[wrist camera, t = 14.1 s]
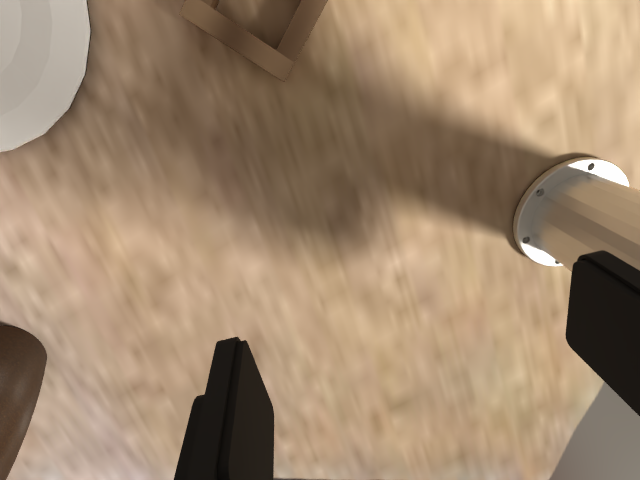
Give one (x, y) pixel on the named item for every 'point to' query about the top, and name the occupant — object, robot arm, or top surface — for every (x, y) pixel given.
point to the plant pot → (17, 389)
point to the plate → (39, 64)
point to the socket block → (276, 62)
